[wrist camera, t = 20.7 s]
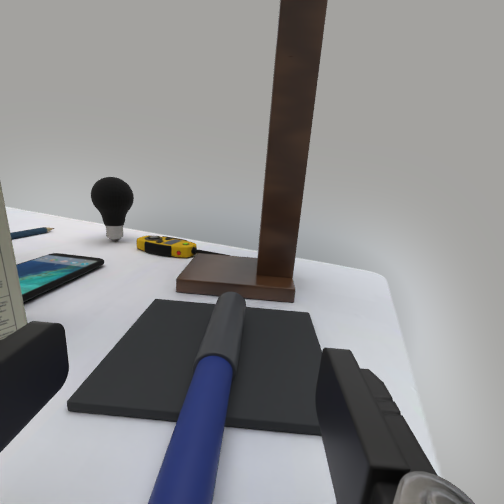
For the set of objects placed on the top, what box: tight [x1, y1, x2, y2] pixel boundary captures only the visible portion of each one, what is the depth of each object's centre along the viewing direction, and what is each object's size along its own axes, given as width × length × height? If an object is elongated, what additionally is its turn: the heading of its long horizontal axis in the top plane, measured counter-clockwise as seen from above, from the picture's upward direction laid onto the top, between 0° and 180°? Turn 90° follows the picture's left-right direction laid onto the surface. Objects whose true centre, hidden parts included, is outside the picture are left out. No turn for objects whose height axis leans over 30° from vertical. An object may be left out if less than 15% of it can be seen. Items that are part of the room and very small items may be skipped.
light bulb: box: [91, 177, 134, 241], centre depth 44 cm, size 6×6×10 cm
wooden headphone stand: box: [176, 0, 327, 302], centre depth 28 cm, size 12×10×32 cm
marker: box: [148, 292, 246, 504], centre depth 15 cm, size 16×2×2 cm, turn 177°
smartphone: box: [16, 253, 104, 302], centre depth 27 cm, size 7×1×15 cm
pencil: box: [10, 227, 54, 239], centre depth 41 cm, size 1×1×15 cm
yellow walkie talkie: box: [137, 236, 230, 258], centre depth 41 cm, size 5×2×15 cm
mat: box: [67, 299, 322, 435], centre depth 20 cm, size 14×12×1 cm
